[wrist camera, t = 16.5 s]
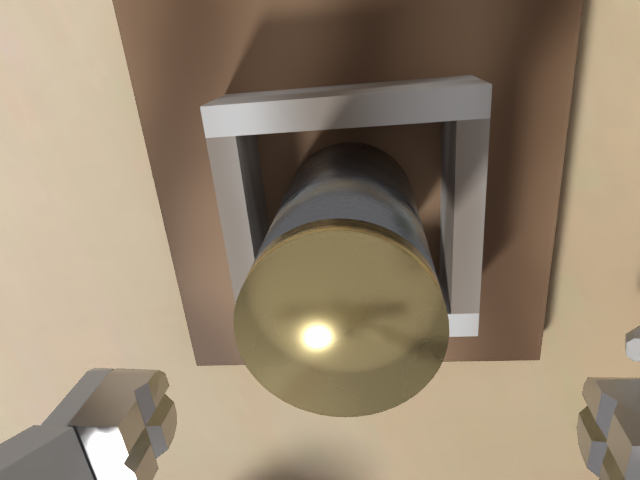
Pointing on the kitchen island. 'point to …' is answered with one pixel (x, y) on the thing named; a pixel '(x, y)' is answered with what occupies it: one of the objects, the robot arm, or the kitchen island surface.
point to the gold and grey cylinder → (344, 290)
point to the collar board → (361, 140)
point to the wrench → (633, 344)
